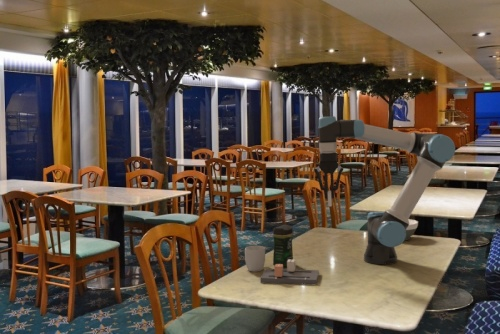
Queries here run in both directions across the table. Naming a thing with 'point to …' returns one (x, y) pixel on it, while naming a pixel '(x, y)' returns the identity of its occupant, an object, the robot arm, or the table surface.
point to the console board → (291, 277)
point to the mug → (255, 258)
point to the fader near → (278, 270)
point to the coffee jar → (282, 244)
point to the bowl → (411, 228)
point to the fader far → (291, 265)
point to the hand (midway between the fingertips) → (329, 205)
